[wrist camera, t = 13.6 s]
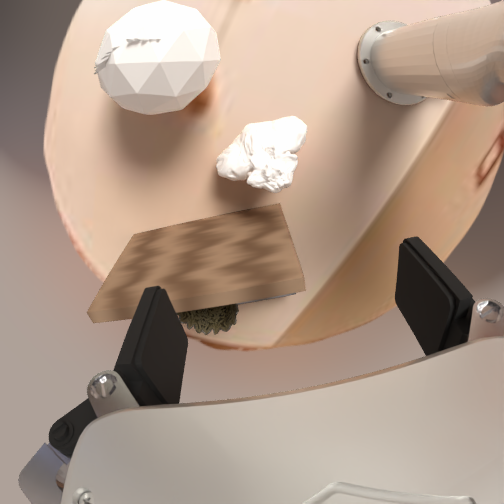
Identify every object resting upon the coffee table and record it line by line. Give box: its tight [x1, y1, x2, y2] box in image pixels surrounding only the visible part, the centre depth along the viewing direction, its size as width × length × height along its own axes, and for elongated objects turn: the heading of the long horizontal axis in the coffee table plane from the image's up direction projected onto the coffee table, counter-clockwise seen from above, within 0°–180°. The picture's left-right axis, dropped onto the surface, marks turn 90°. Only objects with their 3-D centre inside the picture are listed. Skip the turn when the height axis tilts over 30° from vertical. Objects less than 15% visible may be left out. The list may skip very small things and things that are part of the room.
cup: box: [177, 303, 239, 335], centre depth 38 cm, size 8×7×8 cm
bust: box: [216, 116, 307, 193], centre depth 34 cm, size 12×8×11 cm
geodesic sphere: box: [94, 0, 221, 115], centre depth 26 cm, size 14×14×14 cm
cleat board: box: [87, 204, 306, 323], centre depth 38 cm, size 22×12×18 cm, turn 101°
